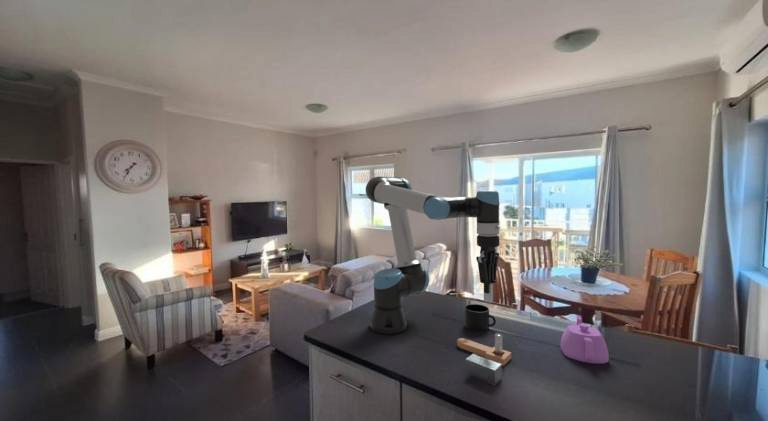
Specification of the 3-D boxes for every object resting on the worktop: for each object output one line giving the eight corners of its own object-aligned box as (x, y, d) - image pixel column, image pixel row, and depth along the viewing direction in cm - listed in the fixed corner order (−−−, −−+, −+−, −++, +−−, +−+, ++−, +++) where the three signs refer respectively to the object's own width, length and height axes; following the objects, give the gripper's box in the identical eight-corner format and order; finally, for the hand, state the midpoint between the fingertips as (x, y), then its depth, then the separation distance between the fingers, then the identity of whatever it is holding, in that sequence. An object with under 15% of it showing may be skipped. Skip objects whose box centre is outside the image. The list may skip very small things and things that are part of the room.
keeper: (465, 374, 94) (465, 359, 94) (472, 368, 97) (472, 353, 97) (494, 386, 88) (494, 370, 87) (501, 379, 91) (501, 364, 91)
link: (511, 358, 102) (511, 352, 102) (503, 365, 98) (503, 359, 98) (462, 341, 114) (462, 336, 114) (453, 347, 110) (453, 341, 110)
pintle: (493, 359, 102) (493, 335, 102) (496, 356, 104) (496, 333, 103) (500, 362, 100) (500, 337, 100) (503, 359, 102) (503, 335, 102)
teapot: (599, 346, 112) (599, 316, 112) (616, 376, 94) (616, 340, 93) (556, 340, 117) (557, 311, 117) (564, 368, 99) (565, 333, 98)
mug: (493, 338, 120) (493, 314, 119) (462, 332, 125) (462, 309, 125) (497, 329, 128) (497, 307, 128) (467, 323, 134) (467, 302, 133)
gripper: (489, 237, 103) (490, 308, 104) (506, 233, 112) (506, 299, 113) (468, 235, 108) (469, 303, 109) (486, 232, 117) (486, 295, 118)
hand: (488, 301), depth 111 cm, fingers closed
